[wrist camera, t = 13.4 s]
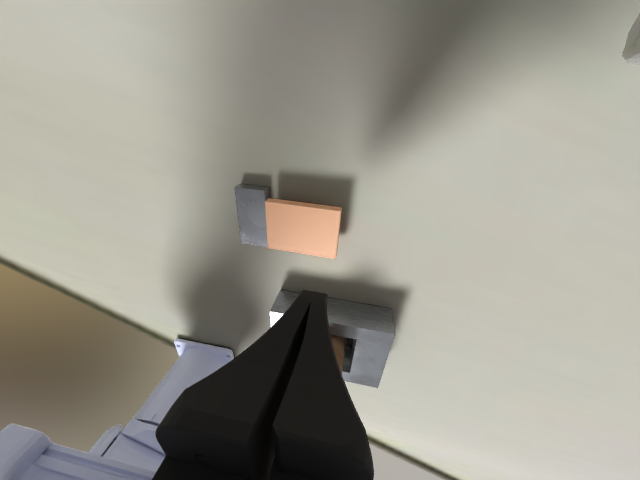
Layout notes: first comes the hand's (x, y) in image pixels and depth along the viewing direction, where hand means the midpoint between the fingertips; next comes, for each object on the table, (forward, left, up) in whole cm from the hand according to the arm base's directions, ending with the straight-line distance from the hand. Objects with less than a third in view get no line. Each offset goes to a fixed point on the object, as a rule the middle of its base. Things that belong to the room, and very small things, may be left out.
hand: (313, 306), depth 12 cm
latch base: (+1, +7, -8) cm, 11 cm away
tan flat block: (+1, +5, -7) cm, 9 cm away
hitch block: (-11, -1, -8) cm, 14 cm away
